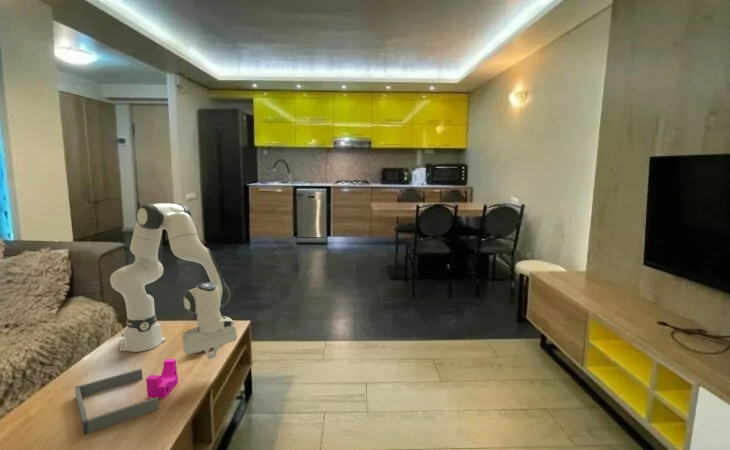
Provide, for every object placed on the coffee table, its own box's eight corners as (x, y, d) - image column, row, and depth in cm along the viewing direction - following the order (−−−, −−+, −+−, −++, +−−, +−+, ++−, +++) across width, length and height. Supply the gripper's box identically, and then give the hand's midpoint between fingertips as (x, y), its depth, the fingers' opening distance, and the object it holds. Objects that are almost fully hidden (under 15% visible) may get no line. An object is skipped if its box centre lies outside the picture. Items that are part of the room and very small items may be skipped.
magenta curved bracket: (165, 398, 146) (163, 379, 145) (147, 398, 146) (146, 379, 145) (183, 377, 161) (182, 359, 160) (167, 376, 161) (166, 359, 160)
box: (75, 397, 146) (74, 386, 146) (141, 377, 160) (141, 368, 159) (84, 434, 126) (83, 422, 126) (158, 409, 140) (158, 398, 139)
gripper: (184, 333, 151) (187, 369, 153) (237, 320, 164) (239, 352, 166) (179, 328, 156) (181, 362, 158) (231, 316, 169) (233, 347, 171)
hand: (211, 357), depth 162 cm, fingers closed
